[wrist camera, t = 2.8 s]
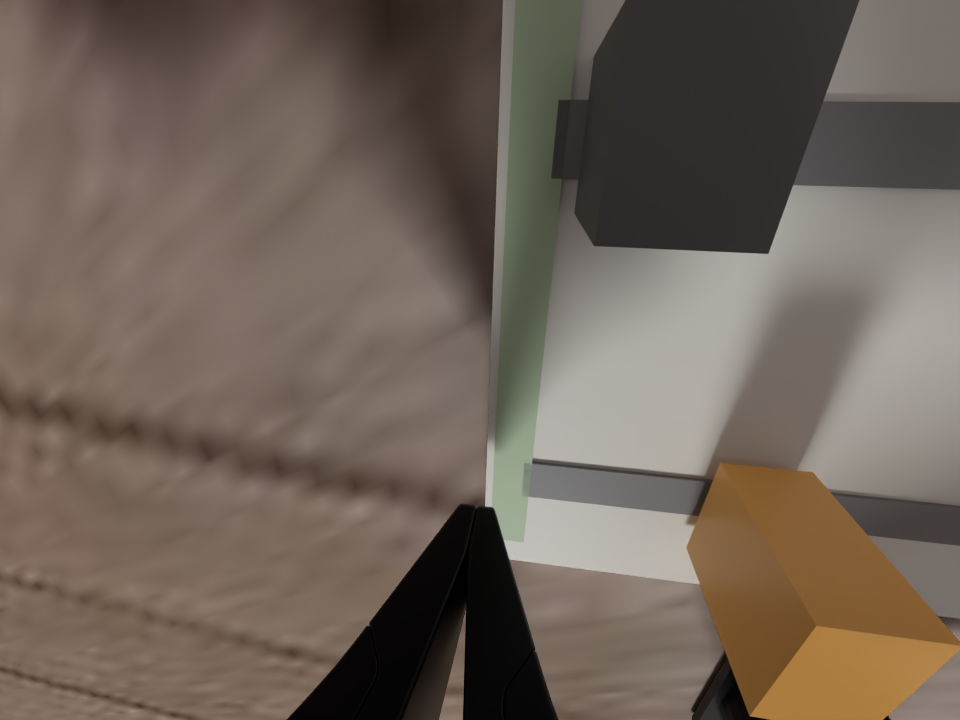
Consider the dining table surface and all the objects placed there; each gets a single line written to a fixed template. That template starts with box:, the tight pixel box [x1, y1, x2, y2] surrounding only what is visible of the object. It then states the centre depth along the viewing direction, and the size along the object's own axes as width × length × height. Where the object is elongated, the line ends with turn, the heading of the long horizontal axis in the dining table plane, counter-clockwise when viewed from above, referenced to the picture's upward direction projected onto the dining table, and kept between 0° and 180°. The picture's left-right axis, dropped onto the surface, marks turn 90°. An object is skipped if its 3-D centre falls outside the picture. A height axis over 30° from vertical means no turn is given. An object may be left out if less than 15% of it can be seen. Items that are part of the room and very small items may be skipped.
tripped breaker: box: [686, 463, 960, 720], centre depth 8 cm, size 3×2×4 cm, turn 179°
